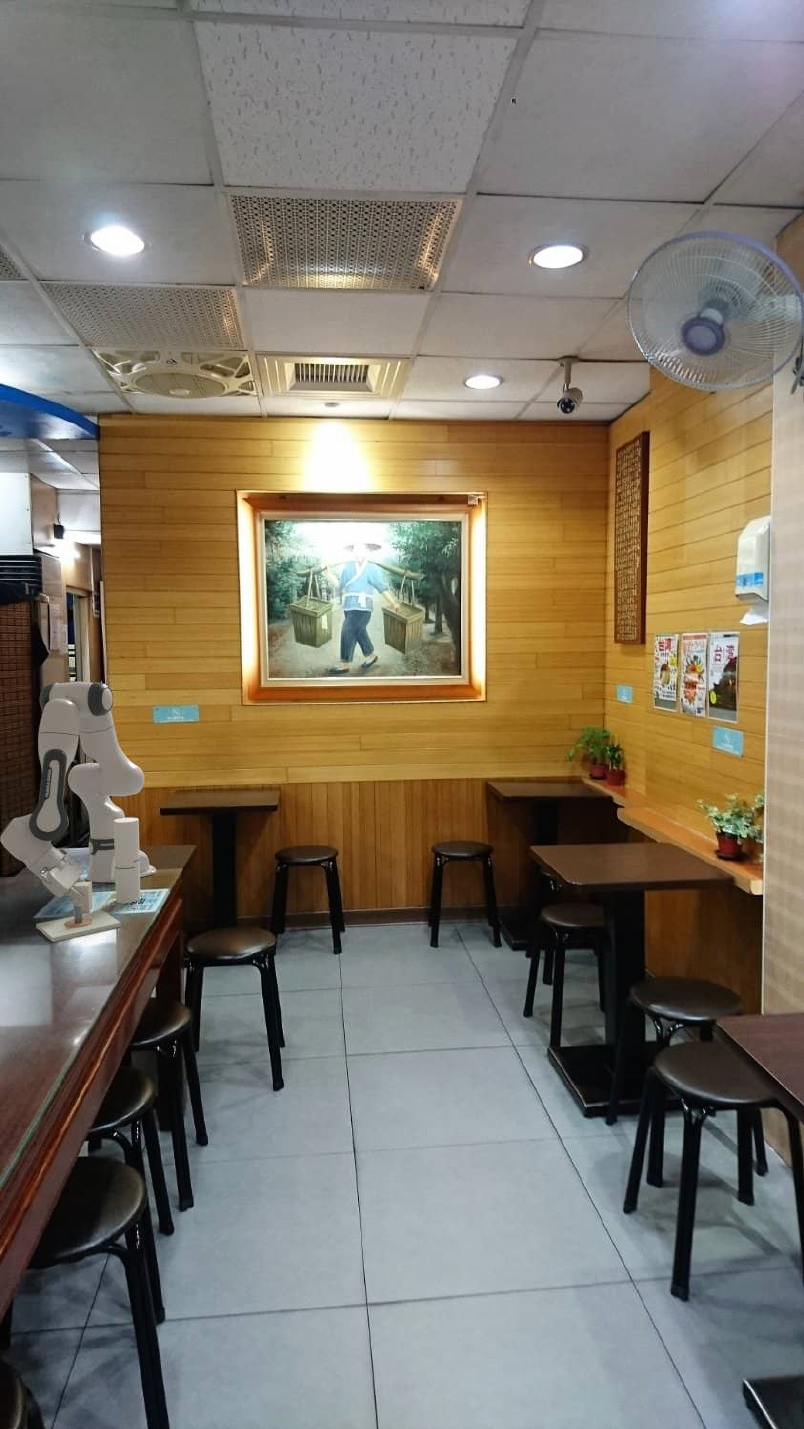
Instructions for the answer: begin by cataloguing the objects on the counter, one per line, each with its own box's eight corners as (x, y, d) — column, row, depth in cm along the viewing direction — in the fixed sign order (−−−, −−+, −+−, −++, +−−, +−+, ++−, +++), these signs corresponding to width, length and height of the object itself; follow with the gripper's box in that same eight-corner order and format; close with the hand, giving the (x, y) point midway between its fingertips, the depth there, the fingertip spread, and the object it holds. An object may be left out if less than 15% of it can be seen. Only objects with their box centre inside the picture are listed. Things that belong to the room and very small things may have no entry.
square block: (73, 913, 227) (72, 886, 226) (77, 908, 231) (76, 882, 231) (89, 912, 228) (88, 885, 227) (92, 907, 232) (91, 881, 231)
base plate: (101, 914, 226) (101, 893, 226) (120, 926, 216) (120, 904, 215) (36, 928, 214) (35, 906, 214) (52, 942, 204) (52, 919, 203)
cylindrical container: (145, 898, 241) (143, 818, 239) (128, 904, 235) (126, 823, 233) (128, 895, 244) (126, 816, 242) (110, 901, 238) (108, 821, 236)
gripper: (46, 865, 217) (84, 898, 219) (65, 847, 237) (100, 877, 239) (29, 881, 216) (67, 914, 219) (50, 862, 237) (85, 892, 239)
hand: (84, 895), depth 229 cm, fingers open, 6 cm apart
